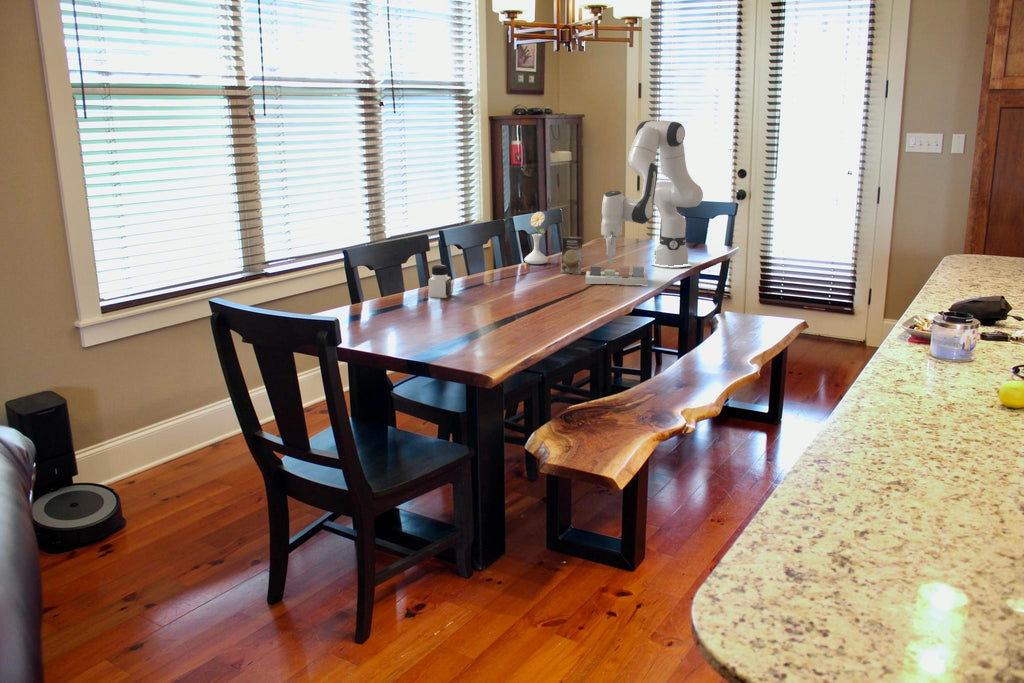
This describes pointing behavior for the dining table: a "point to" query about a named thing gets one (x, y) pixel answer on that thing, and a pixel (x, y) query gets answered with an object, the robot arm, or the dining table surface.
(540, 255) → the flower in vase
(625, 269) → the key terracotta
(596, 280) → the keypad
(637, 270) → the key slate
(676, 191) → the robot arm
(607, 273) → the key sage
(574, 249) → the coffee box
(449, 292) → the medicine bottle
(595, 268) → the key charcoal
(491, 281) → the dining table surface
